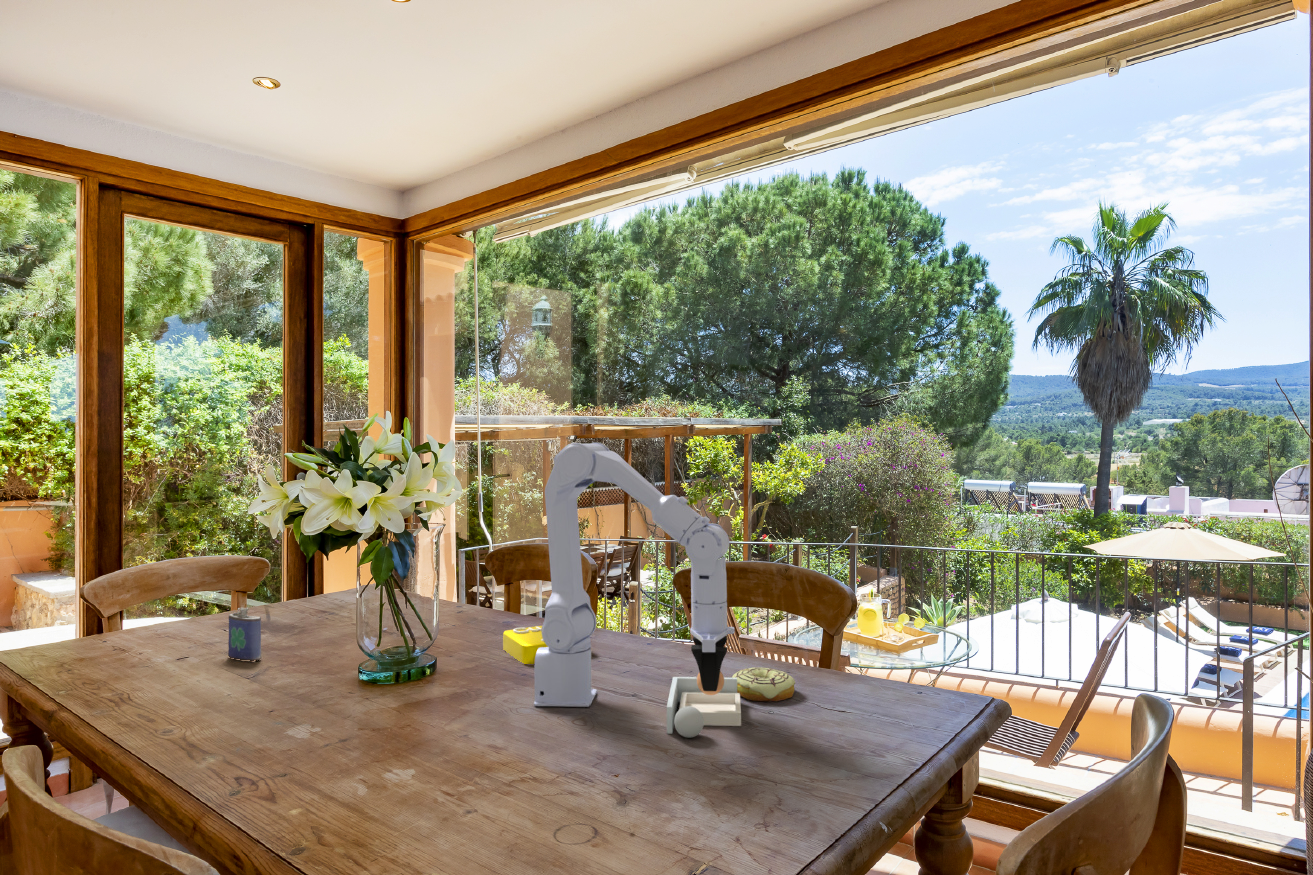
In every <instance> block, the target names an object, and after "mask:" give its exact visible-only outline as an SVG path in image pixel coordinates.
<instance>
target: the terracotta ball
mask: <svg viewBox="0 0 1313 875" xmlns="http://www.w3.org/2000/svg"><path fill="white" fill-rule="evenodd" d="M696 677H697V685H698V687H699V689H700V690H701V691H702V692H703V693H704V694H707V695H715V694H717V693H719V692H720V691H721V690H722V688H723V686H724V678H725V676H724V674H723V673H722V671H721V670H720V675H719V682H718V687H717V691H704V690H703V687H702V683H701V678H700V672H698V673H697V676H696Z"/></svg>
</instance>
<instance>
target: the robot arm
mask: <svg viewBox="0 0 1313 875" xmlns="http://www.w3.org/2000/svg"><path fill="white" fill-rule="evenodd" d="M553 464H554V465H553V467H552V470H551V472H550V474H549V477H548V479H547V483H546V484H545V488H544V502H545V512H546V513H545V514H546V526H547V527H546V530H547V541H548V555H549V569H550V580H551V581H550V582H551V584H550V585H551V594H550V597H549V598H548V601H547V602H546V605H545V607H544V612H545V615H544V620H543V623H542V625H541V626H542V637H543V640H544V642H545V644H546V645H547V646H548V647H541V648H538V650H537V652H536V656H535V665H533V666H534V669H533V670H534V673H533V674H534V677H533V678H534V702H533V706H534V707H569V708H570V707H572V708H573V707H579V708H582V707H583V708H585V707H586V708H587V707H588V708H589V707H591V705H592V703H593V701H594V699H595V697H596V695H597V692H598V690H597V689H596V688H592V643H591V636H592V635H593V634H594V633H595V631H596V627H597V623H598V622H597V616H596V614H595V612H594V610H593V609H592V608H593V607H592V605H591V597H590V596H589V594H588V593H587V591H586V590H585V588H584V582H583V578H584V577H583V566H582V553H581V541H580V540H581V539H580V537H581V536H580V527H579V526H580V525H579V514H578V513H579V512H578V498H579V497H580V495H581V494H582V493H584V491H585V490H586V489H587V488H588V487H589V486H590V485H591V484H593V483H595V482H600V483H601V482H603V483H611V484H615V485H616V486H617V487H618V488H620V489H621V490H622V491H624V492H625V493H627V494H628V495H629V496H631V497H632V498H633V499H634V500H636V501H637V502H639V503H640V504H641V505H643V506H644V507H645V508H647V509H648V510H650V512H651V519H652V522H653V524H655V525H656V526H657V527H658V528H660V530H662V531H663V532H665V533H666V534H667V535H668V536H669V537H671V538H672V539H673V540H674V541H676V543H678V544H679V545H680V546H682V547H684V548H685V553H686V555H687V557H688V558H689V559H690V562H691V563H690V567H691V568H690V570H691V572H690V588H691V589H690V592H691V594H690V597H691V598H690V602H691V603H690V604H691V606H690V607H691V610H690V611H691V627H690V634H691V636H692V641H693V642H694V644H692V645H691V647H690V650H691V653H692V655H693V657H694V659H695V661H696V665H697V668H698V671H699V672H700V678H701V683H702V687H703V690H704V691H717V687H718V682H719V675H720V671H721V668H722V665H723V661H724V659H725V656H726V655H727V652H728V647H727V646H725V645H726V644H727V641H728V635H734V634H735V627H734V626H728V602H727V601H728V599H727V598H728V591H727V588H728V586H727V584H728V583H727V582H728V581H727V568H726V566H727V565H726V564H727V563H726V562H727V561H726V556H725V555H726V553H727V552H728V551H729V547H730V537H729V535H728V533H727V532H726V531H725V529H724V528H723V527H722V525H720V524H717V523H710V522H711V519H710V518H709V517H708V516H703V515H701V514H700V513H698V512H697V511H696V510H694V509H693V508H692V507H690V505H689V504H688V502H689V500H688V499H686V497H684V496H680V497H679V496H677V495H675V494H670V495H668V494H667V495H665V494H663V493H661V491H659V490H658V489H657V488H656V487H655V486H654V484H653V485H652V484H651V482H650V481H648V480H647V479H646V478H645V477H643V475H642V474H641V473H639V472H638V471H637V470H636V469H635V468H633V467H632V466H631V465H630V464H629V463H628V462H626V460H624V458H623V457H622V456H620V455H619V453H617V452H615V451H613V450H610V448H609V447H608V446H606V445H605V444H604V443H602V442H591V443H580V442H572V443H569V444H567V445H566V446H564V447H562V449H561V450H560V451H559V452H558V453H557V454H556V455H554V457H553ZM699 672H698V673H699Z"/></svg>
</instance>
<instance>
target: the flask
mask: <svg viewBox="0 0 1313 875" xmlns="http://www.w3.org/2000/svg"><path fill="white" fill-rule="evenodd" d="M248 611H249V607H238V608H237V612H233V613H230V614H229V615H228V640H227V641H228V645H227V646H228V652H227V657H228V656H229V657H230V658H234V659H240V660H250V661H254V660H257V661H258V660H259V661H260V659H261V660H262V625H261V624H262V623H261V622H262V617H261V616H256V615H248Z"/></svg>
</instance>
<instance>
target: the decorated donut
mask: <svg viewBox="0 0 1313 875" xmlns="http://www.w3.org/2000/svg"><path fill="white" fill-rule="evenodd" d="M731 678H737V693H740V697H742V698H743V699H745V700H747V701H749V700H750V701H752V702H753V701H754V702H757V701H758V702H773V701H776V702H779V701H785V700H786V699H791V698H792V697H794V696H793V695H794V693H795V684H796V681H795V679H794V678H793V677H792V676H791V675H790V674H789V673H787V672H785V671H782V670H779V669H776V668H775V669H774V668H771V667H756V666H755V667H747V668H743V669H740V670H739V671H737V672H735V673H734V674H732V677H731Z"/></svg>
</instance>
